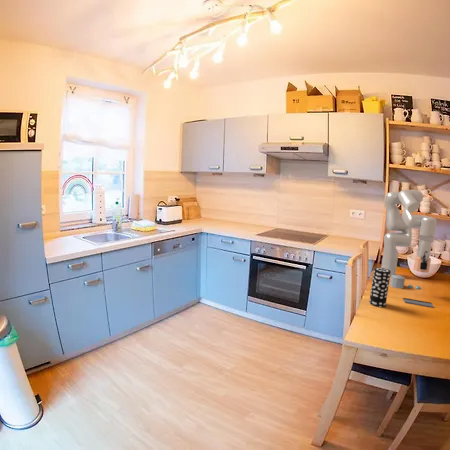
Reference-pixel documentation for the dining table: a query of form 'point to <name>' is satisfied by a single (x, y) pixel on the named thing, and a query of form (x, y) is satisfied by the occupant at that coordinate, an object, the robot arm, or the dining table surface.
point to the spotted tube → (379, 287)
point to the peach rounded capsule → (418, 263)
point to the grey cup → (397, 281)
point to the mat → (418, 302)
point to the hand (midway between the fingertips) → (421, 267)
